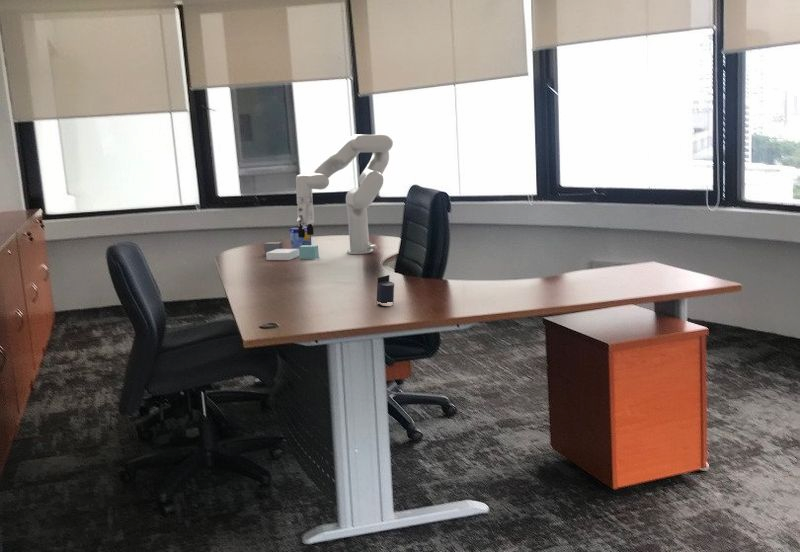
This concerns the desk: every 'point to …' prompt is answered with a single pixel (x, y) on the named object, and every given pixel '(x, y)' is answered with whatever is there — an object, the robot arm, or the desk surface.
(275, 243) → the grey brick
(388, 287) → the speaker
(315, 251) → the teal brick
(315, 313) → the desk surface
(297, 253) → the white block
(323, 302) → the desk surface
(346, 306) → the desk surface
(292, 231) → the ink cartridge box
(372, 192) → the robot arm
